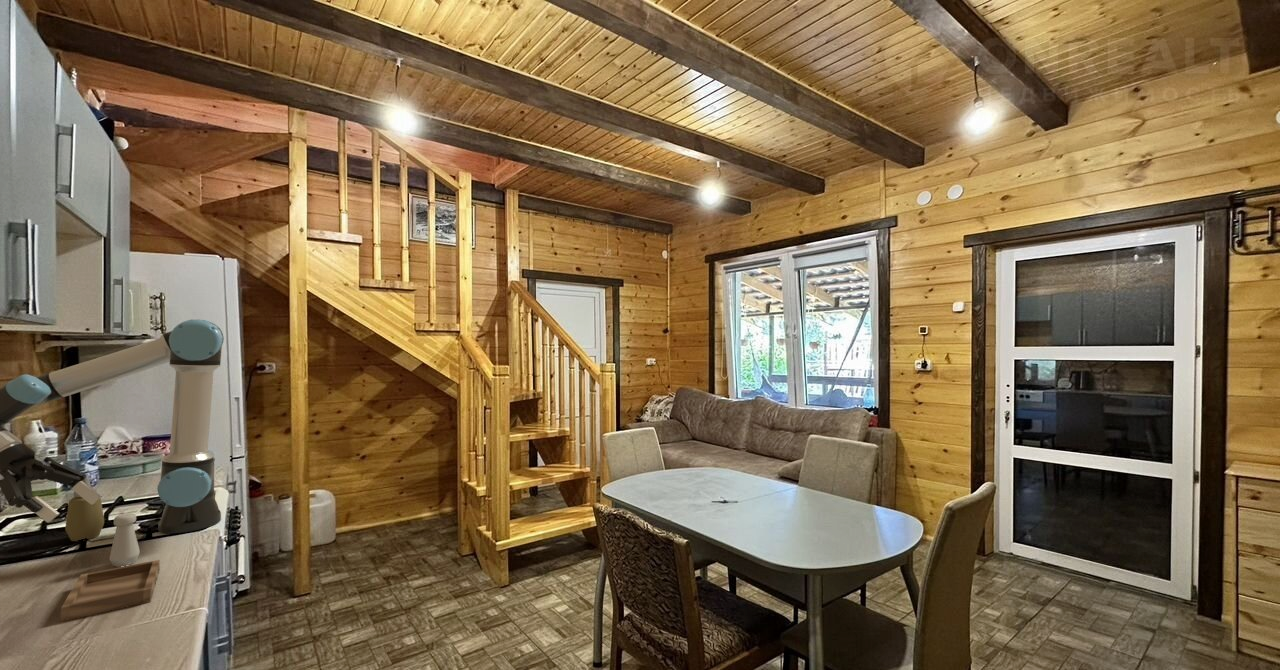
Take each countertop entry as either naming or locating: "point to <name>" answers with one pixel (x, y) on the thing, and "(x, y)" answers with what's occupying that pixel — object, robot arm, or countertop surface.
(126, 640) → the countertop surface
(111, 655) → the countertop surface
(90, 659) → the countertop surface
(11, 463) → the robot arm
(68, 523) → the squeeze bottle
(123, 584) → the walnut tray
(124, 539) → the salt shaker
